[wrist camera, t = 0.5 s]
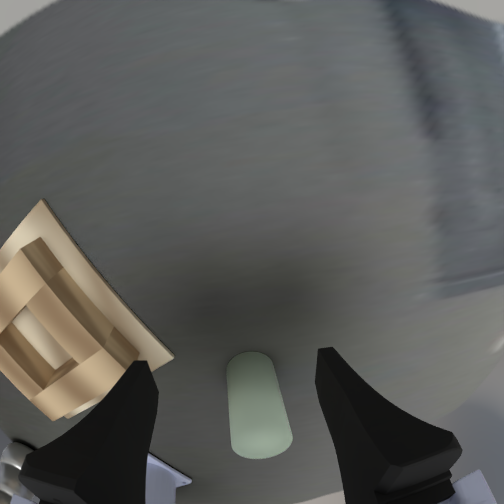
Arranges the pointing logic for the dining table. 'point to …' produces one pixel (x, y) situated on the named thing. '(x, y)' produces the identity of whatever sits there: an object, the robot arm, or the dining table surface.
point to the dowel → (256, 407)
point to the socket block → (64, 321)
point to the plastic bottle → (13, 472)
